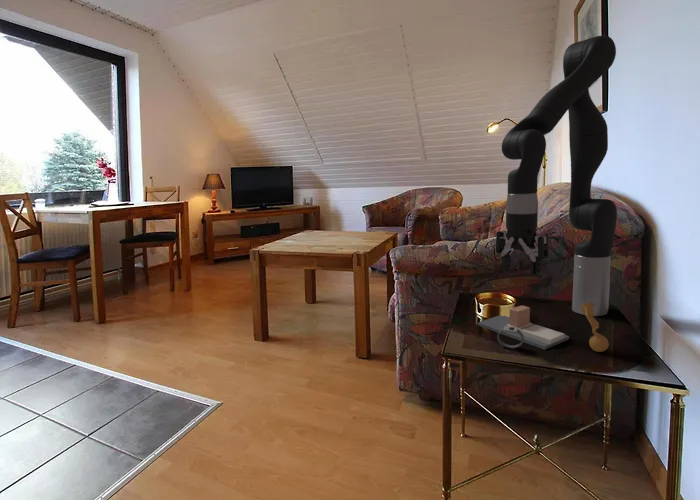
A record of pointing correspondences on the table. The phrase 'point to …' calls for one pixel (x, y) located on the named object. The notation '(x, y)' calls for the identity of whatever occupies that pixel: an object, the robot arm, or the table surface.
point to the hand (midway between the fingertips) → (520, 272)
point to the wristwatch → (510, 330)
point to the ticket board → (526, 332)
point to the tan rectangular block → (520, 317)
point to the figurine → (597, 340)
